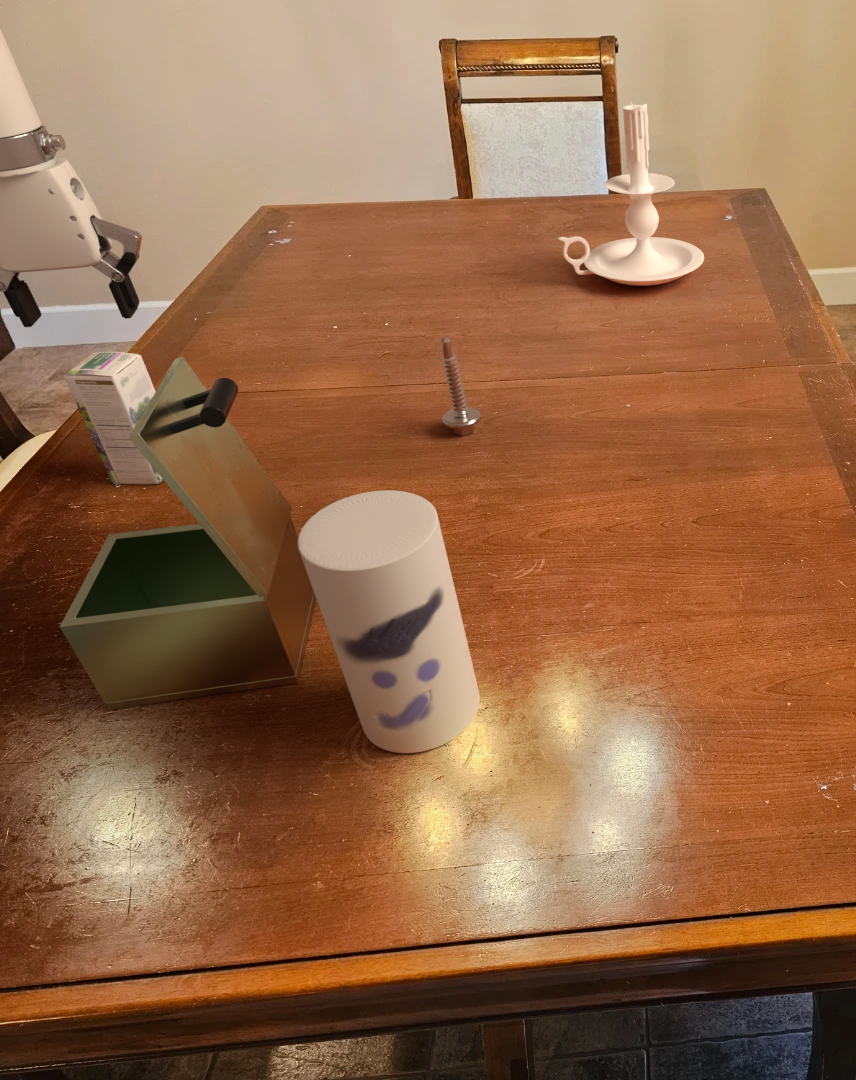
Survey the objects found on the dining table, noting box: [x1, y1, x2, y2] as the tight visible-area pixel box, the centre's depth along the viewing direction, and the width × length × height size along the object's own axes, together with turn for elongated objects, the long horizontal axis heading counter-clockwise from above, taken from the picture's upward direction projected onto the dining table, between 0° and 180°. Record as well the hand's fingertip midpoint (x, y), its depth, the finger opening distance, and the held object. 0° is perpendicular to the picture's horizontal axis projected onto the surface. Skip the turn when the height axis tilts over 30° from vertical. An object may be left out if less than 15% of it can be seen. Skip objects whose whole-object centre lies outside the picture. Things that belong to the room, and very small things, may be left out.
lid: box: [129, 356, 293, 597], centre depth 77 cm, size 17×13×5 cm
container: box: [297, 489, 481, 754], centre depth 75 cm, size 10×10×20 cm
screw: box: [441, 336, 482, 437], centre depth 115 cm, size 13×5×5 cm
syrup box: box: [63, 351, 164, 485], centre depth 107 cm, size 6×6×14 cm
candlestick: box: [557, 100, 705, 287], centre depth 151 cm, size 21×25×28 cm
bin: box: [59, 515, 317, 711], centre depth 84 cm, size 16×13×10 cm
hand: (82, 317), depth 99 cm, fingers open, 9 cm apart
